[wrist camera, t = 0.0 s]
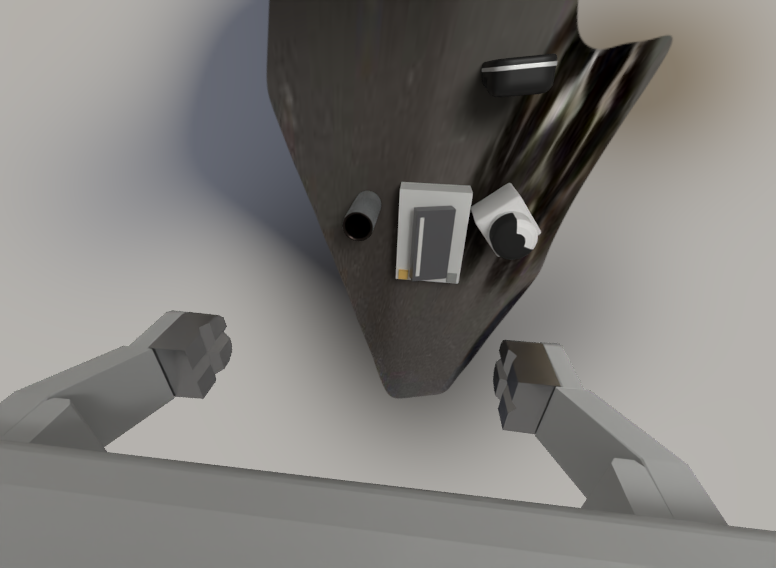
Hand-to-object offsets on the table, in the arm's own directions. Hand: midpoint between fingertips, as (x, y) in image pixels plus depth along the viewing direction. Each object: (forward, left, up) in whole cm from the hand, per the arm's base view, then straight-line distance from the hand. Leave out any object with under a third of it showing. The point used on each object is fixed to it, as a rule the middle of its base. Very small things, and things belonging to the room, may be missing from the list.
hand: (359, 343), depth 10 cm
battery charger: (-7, +12, -48) cm, 50 cm away
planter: (+12, -7, -48) cm, 50 cm away
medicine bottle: (+12, +15, -48) cm, 52 cm away
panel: (+16, +4, -48) cm, 51 cm away
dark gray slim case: (+16, +4, -42) cm, 45 cm away
